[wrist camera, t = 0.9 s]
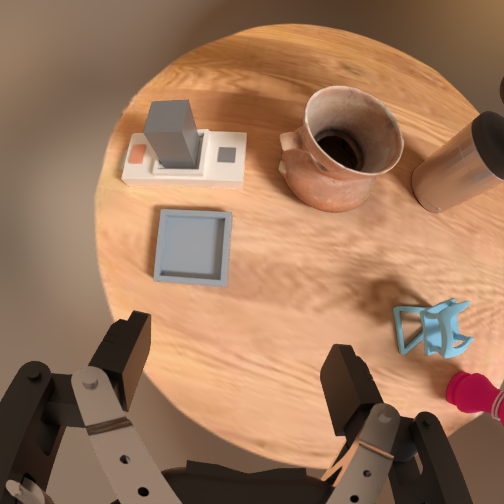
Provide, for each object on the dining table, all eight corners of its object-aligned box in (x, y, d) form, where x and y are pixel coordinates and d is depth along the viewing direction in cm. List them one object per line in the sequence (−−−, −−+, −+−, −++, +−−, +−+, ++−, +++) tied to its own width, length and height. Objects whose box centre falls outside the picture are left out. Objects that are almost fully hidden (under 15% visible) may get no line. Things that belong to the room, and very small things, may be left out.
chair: (437, 337, 39) (485, 345, 27) (399, 354, 38) (444, 369, 26) (431, 293, 40) (480, 290, 28) (392, 307, 39) (439, 309, 27)
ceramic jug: (277, 222, 41) (296, 188, 27) (263, 135, 43) (273, 76, 29) (387, 213, 42) (439, 183, 28) (366, 133, 44) (402, 86, 30)
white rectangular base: (246, 142, 43) (246, 128, 38) (242, 189, 41) (242, 178, 37) (138, 142, 42) (129, 129, 38) (128, 186, 41) (118, 176, 37)
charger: (200, 140, 39) (188, 99, 29) (195, 168, 39) (181, 131, 29) (170, 140, 39) (152, 101, 29) (164, 168, 38) (143, 132, 29)
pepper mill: (439, 408, 37) (513, 444, 17) (448, 370, 38) (530, 394, 18) (465, 403, 37) (535, 430, 17) (473, 367, 38) (550, 385, 18)
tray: (164, 213, 41) (161, 209, 39) (232, 216, 41) (231, 212, 39) (157, 281, 39) (153, 280, 37) (227, 287, 39) (226, 286, 37)
